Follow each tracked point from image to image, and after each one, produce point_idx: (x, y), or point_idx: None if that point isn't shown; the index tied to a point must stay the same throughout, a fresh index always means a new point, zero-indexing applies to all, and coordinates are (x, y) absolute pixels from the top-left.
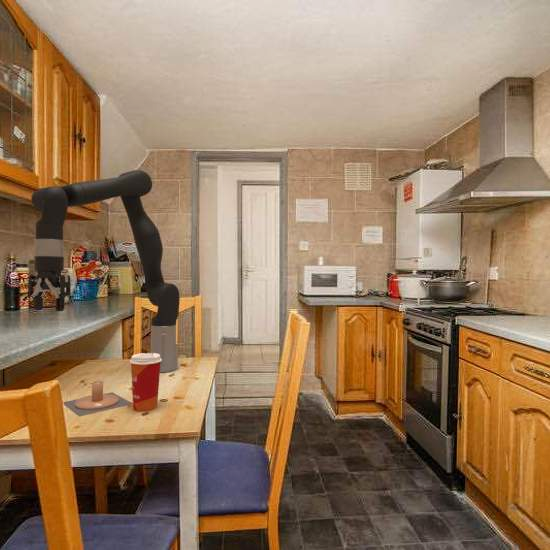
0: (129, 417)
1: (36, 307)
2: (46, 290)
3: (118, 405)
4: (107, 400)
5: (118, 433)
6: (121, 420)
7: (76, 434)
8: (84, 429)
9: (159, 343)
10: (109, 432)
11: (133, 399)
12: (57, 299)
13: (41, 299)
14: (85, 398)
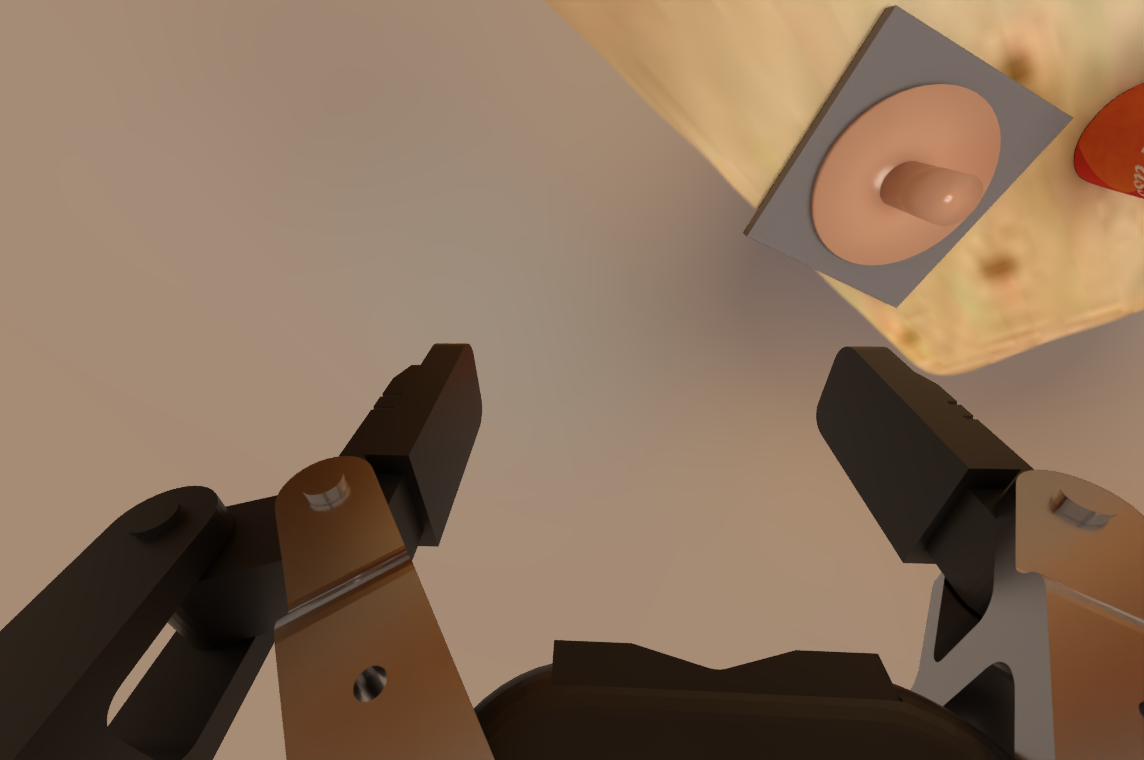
0: (1068, 218)
1: (476, 431)
2: (411, 567)
3: (1006, 168)
4: (951, 168)
5: (1061, 329)
6: (1042, 252)
7: (934, 371)
8: (941, 343)
9: None
10: (1029, 333)
11: (1133, 193)
12: (936, 548)
13: (428, 447)
14: (839, 189)
